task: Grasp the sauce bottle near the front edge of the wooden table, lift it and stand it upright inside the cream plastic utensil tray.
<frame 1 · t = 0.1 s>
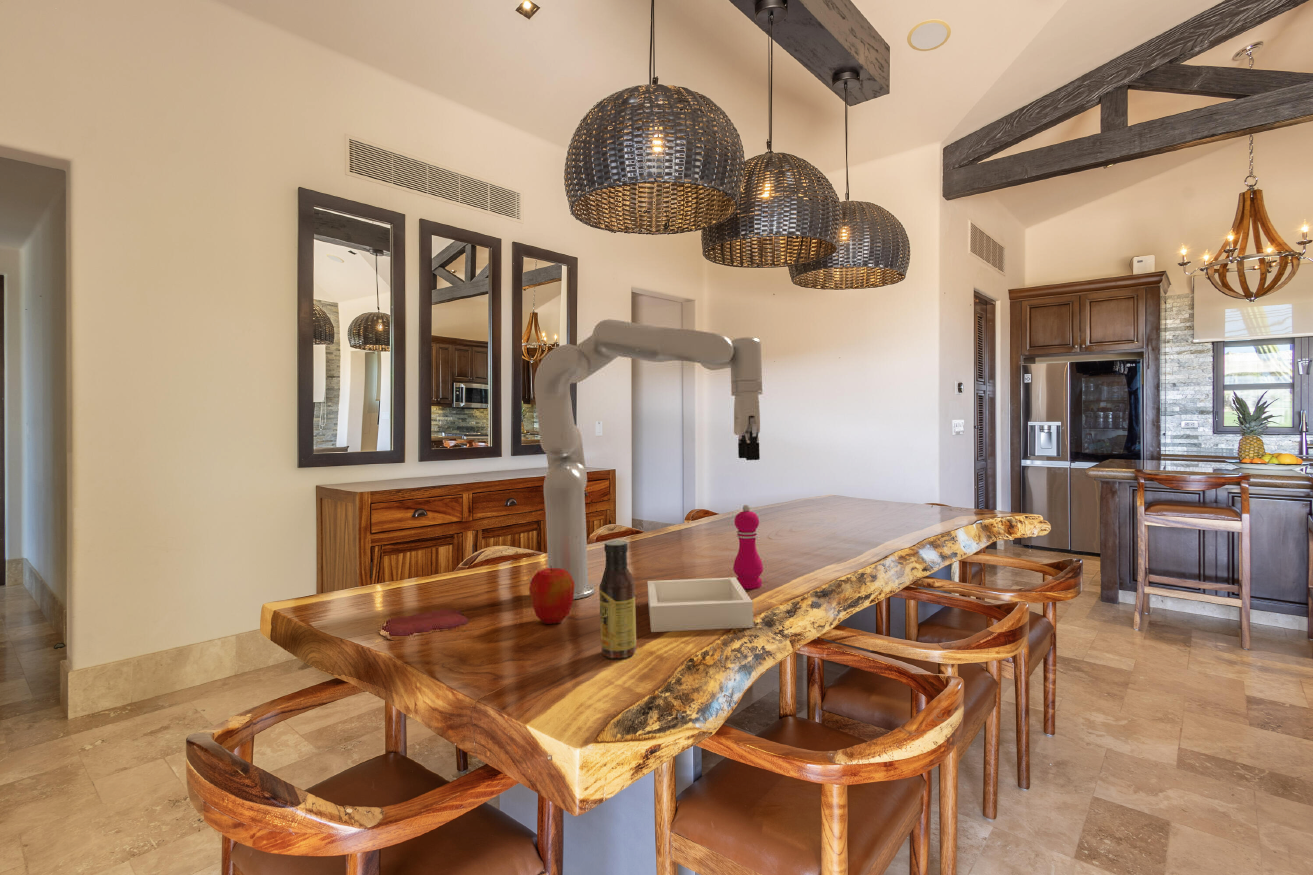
hand: (748, 458, 152), 31 cm above the table, tool pointing down, fingers open, 9 cm apart
sauce bottle: (619, 655, 109), on the table
apple: (553, 623, 128), on the table
utensil tray: (696, 614, 131), on the table
patty: (424, 628, 129), on the table
pepper mill: (748, 586, 152), on the table
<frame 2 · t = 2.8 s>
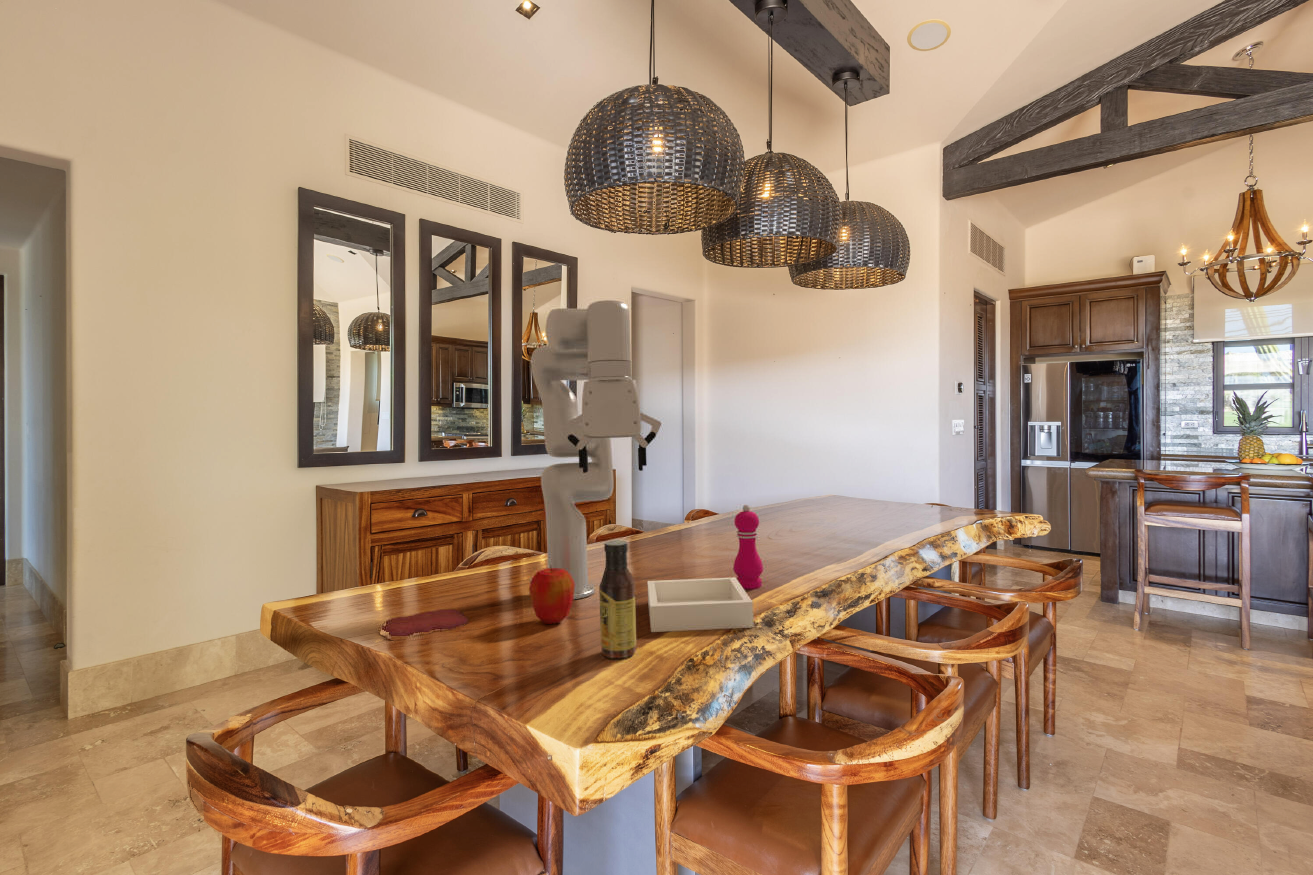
hand: (613, 471, 109), 32 cm above the table, tool pointing down, fingers open, 9 cm apart
nothing on the table moved.
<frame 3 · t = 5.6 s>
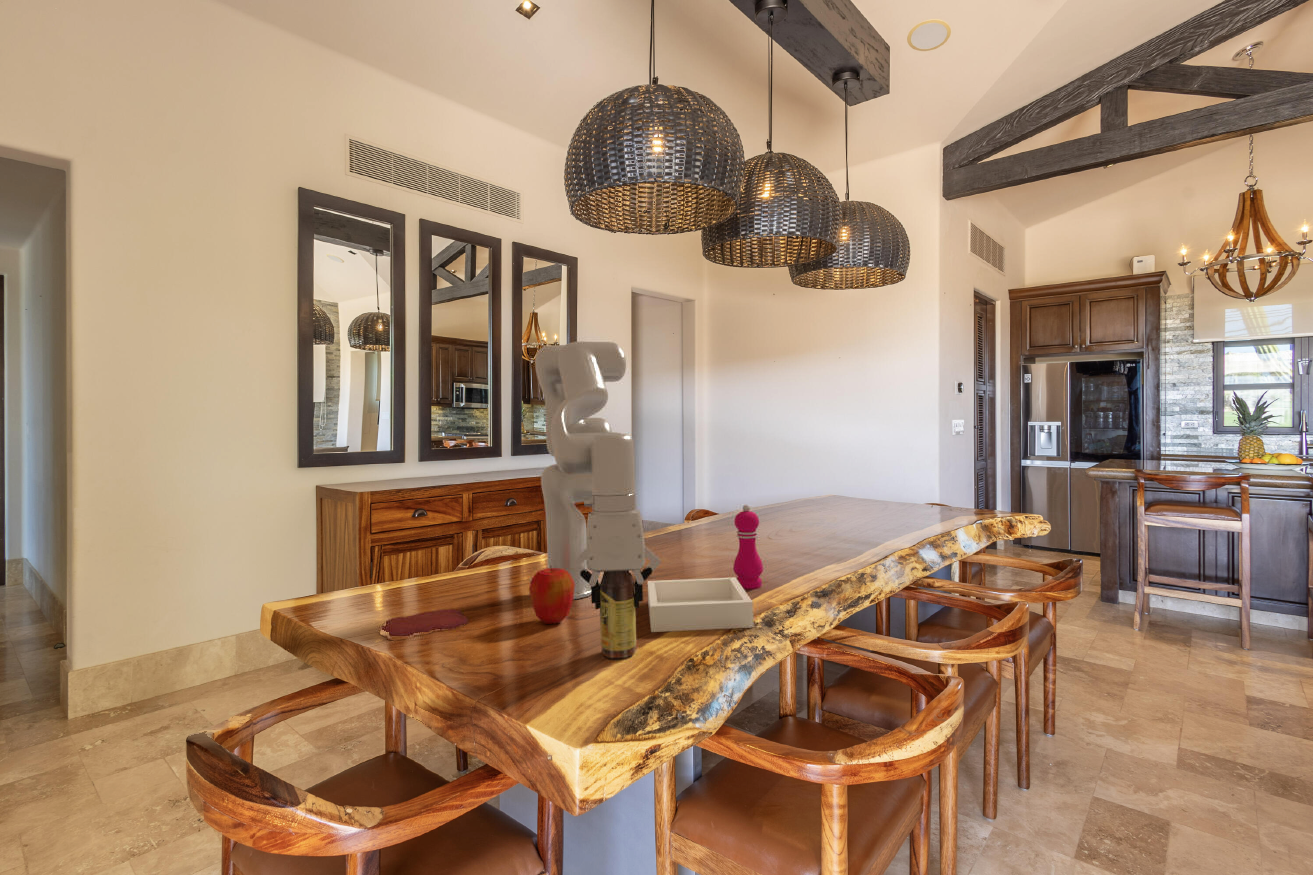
hand: (617, 605, 109), 9 cm above the table, tool pointing down, fingers closed on sauce bottle, 6 cm apart
sauce bottle: (619, 655, 109), on the table, touching gripper
everything else where it was.
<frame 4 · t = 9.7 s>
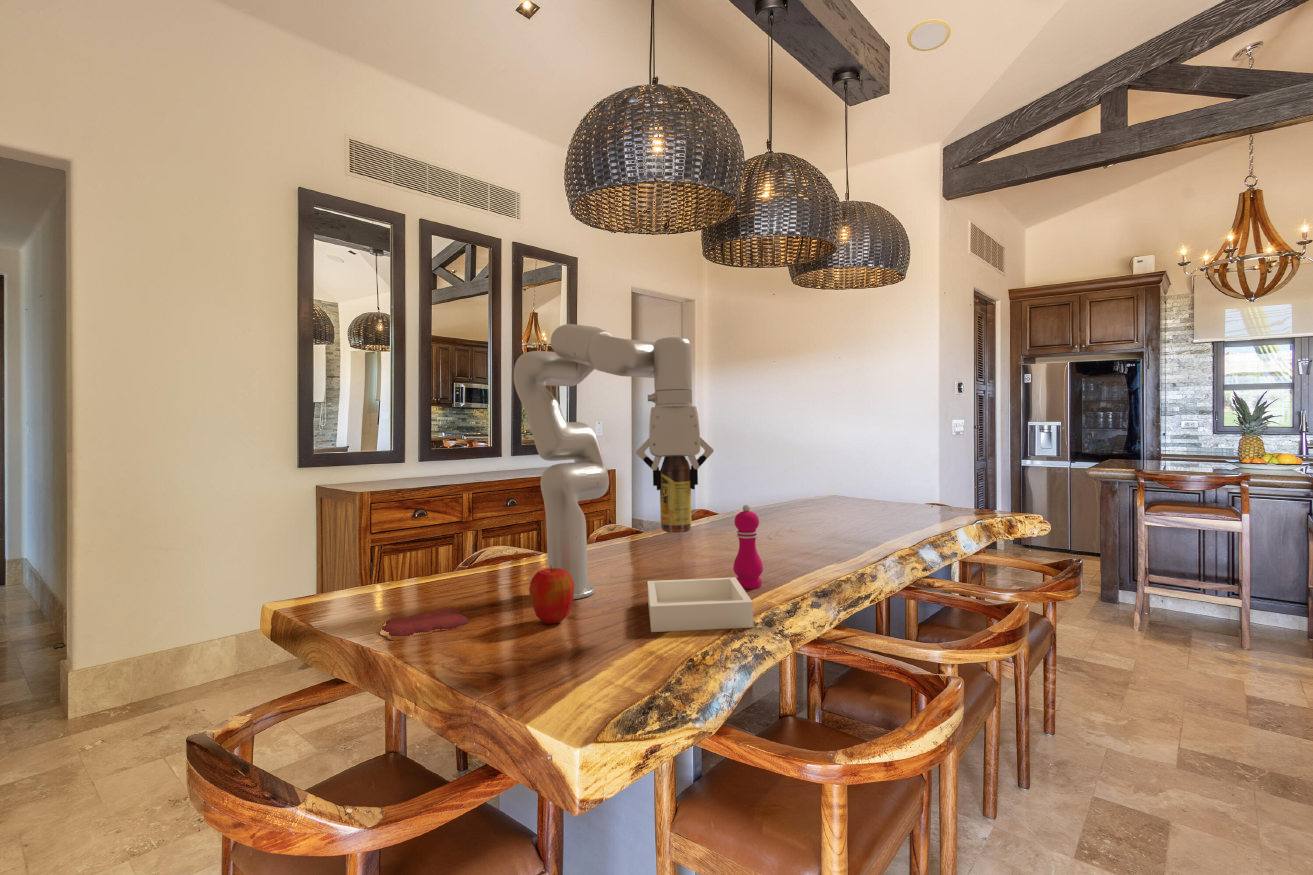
hand: (675, 488, 125), 27 cm above the table, tool pointing down, fingers closed on sauce bottle, 6 cm apart
sauce bottle: (676, 532, 125), point 18 cm above the table, touching gripper
everything else where it was.
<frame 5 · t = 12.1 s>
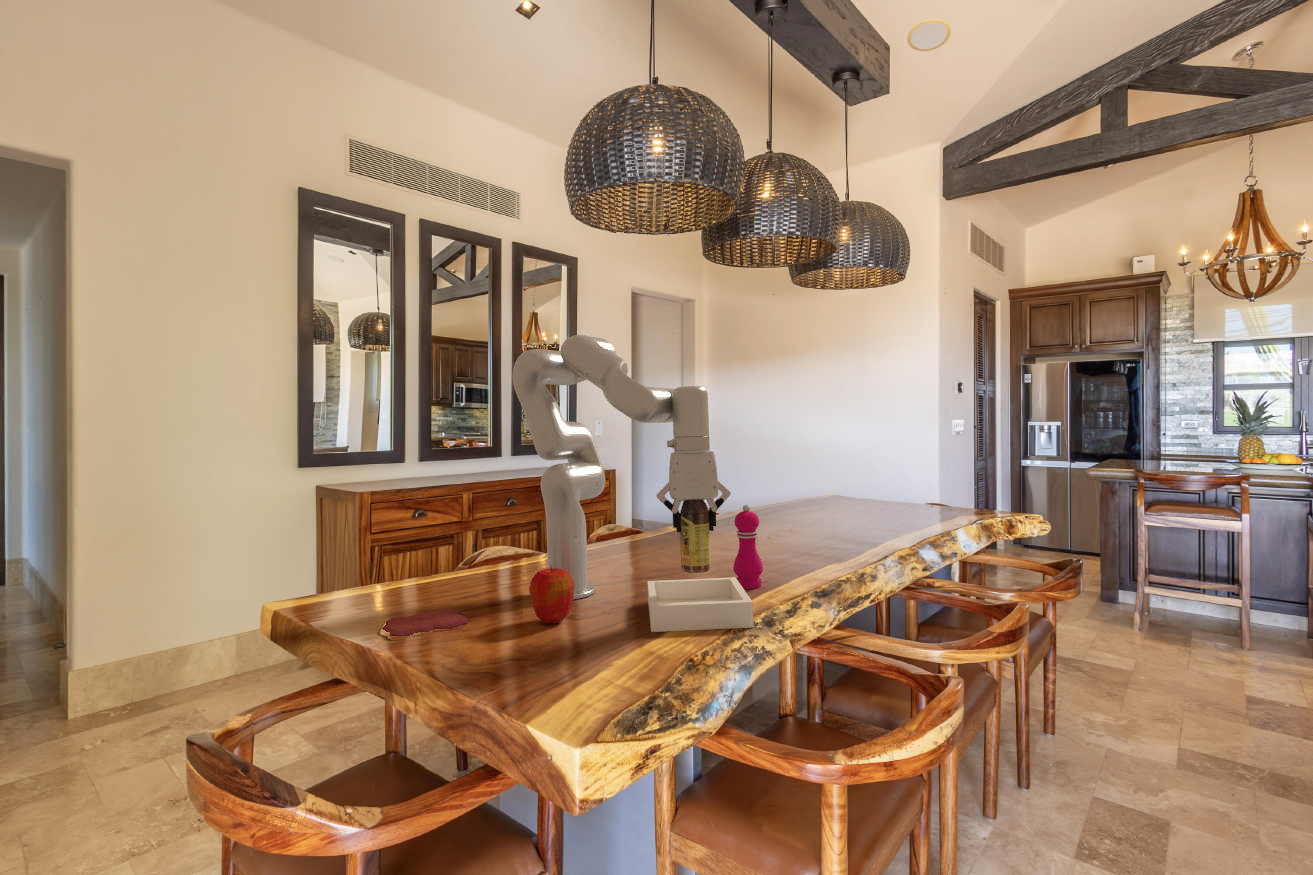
hand: (694, 529, 130), 18 cm above the table, tool pointing down, fingers closed on sauce bottle, 6 cm apart
sauce bottle: (696, 571, 130), point 9 cm above the table, touching gripper
everything else where it was.
when the fingers open (11 cm above the table, at t = 13.9 s): sauce bottle drops 1 cm, resting on utensil tray.
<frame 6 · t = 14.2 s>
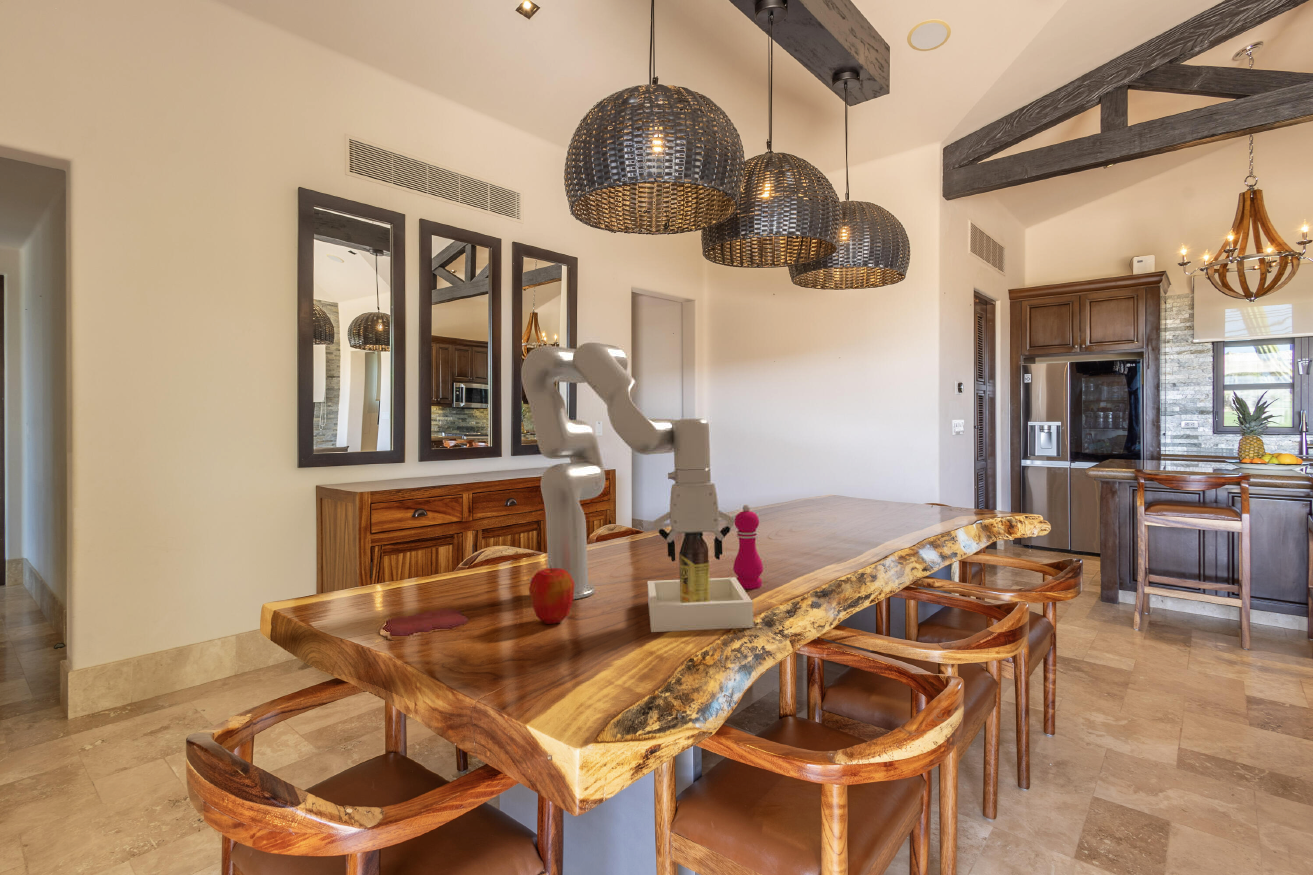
hand: (695, 559, 131), 12 cm above the table, tool pointing down, fingers open, 9 cm apart
sauce bottle: (695, 610, 131), point 1 cm above the table, touching utensil tray
everything else where it was.
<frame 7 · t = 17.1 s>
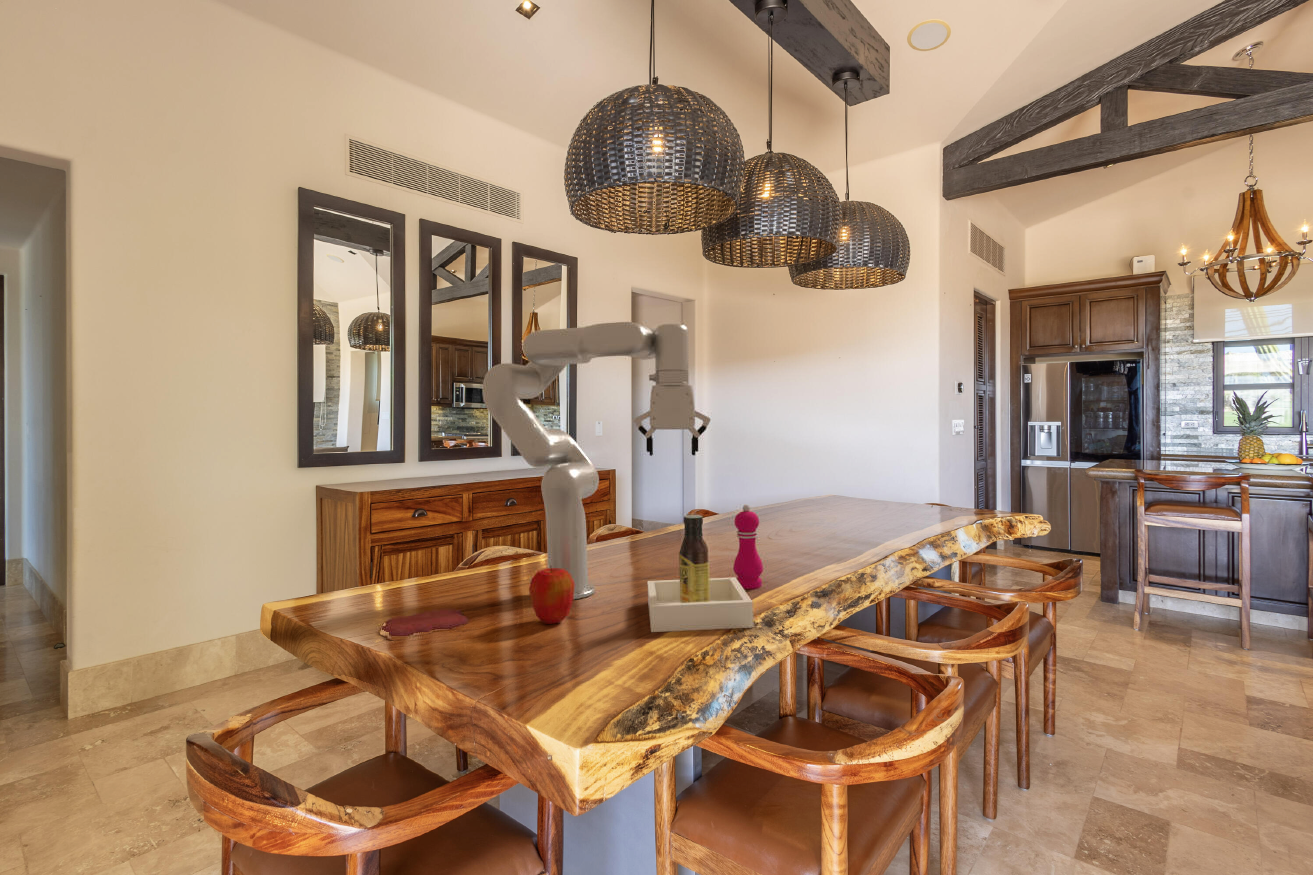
hand: (672, 455, 141), 33 cm above the table, tool pointing down, fingers open, 9 cm apart
nothing on the table moved.
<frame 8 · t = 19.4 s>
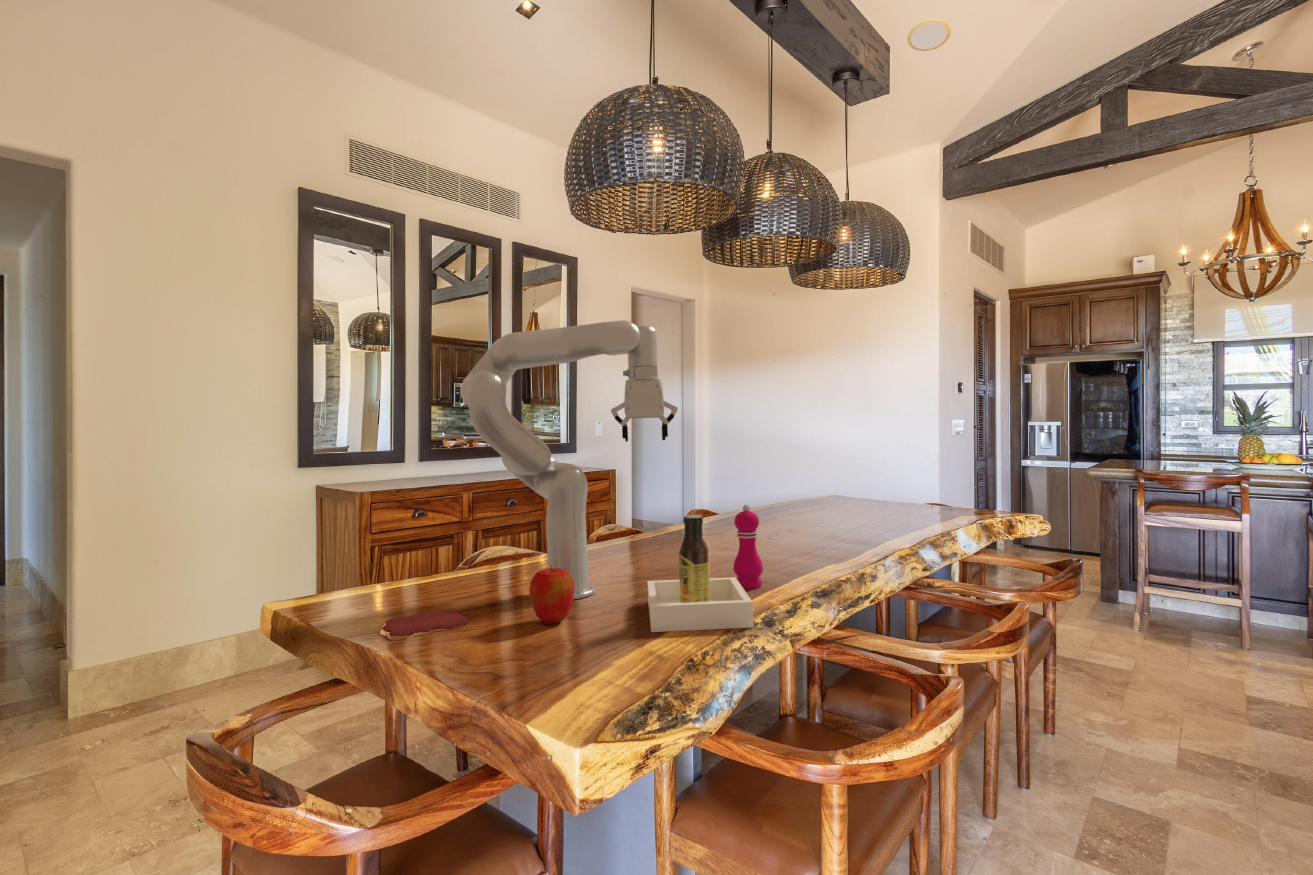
hand: (645, 440, 161), 36 cm above the table, tool pointing down, fingers open, 9 cm apart
nothing on the table moved.
at the end: sauce bottle inside the target area on the utensil tray (0.3 cm from its centre), point 0.8 cm above the utensil tray's base; sauce bottle tilted 0°; the gripper is holding nothing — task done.
